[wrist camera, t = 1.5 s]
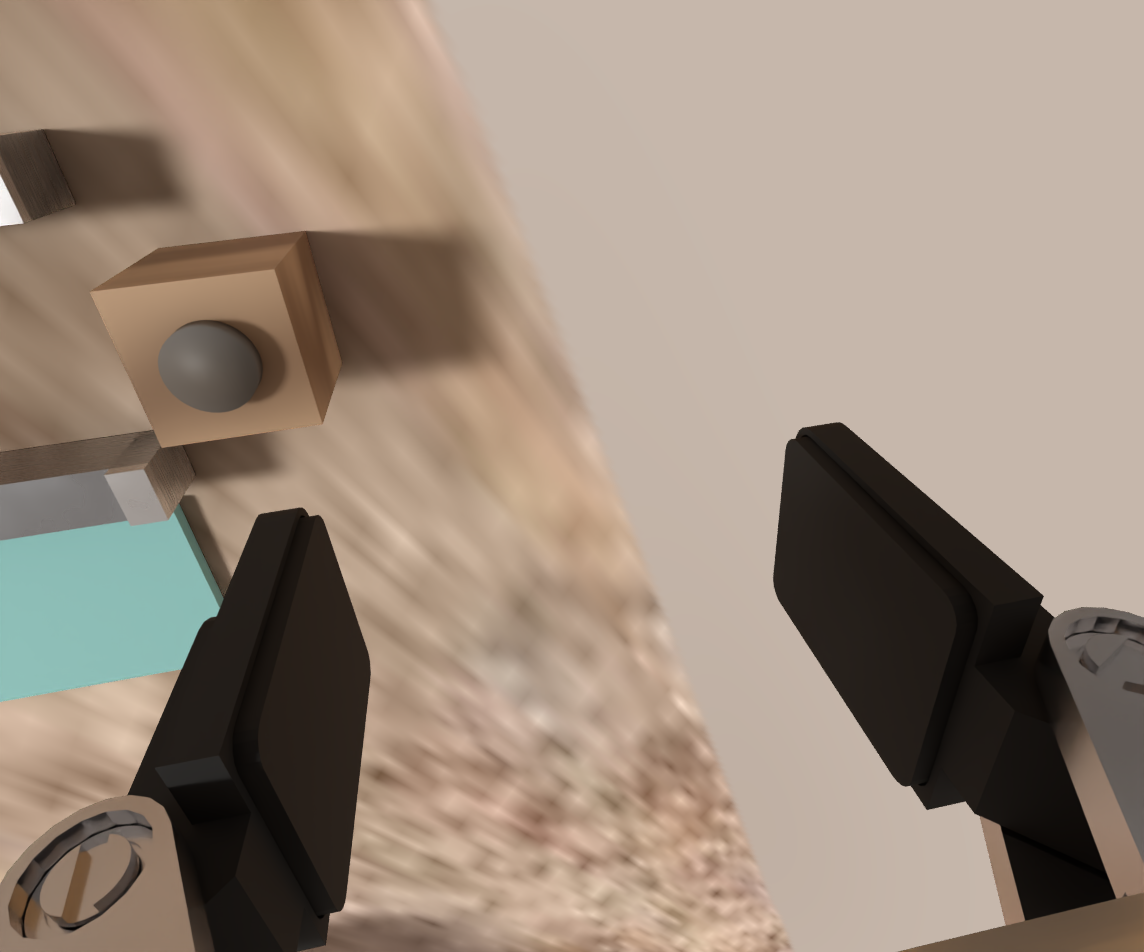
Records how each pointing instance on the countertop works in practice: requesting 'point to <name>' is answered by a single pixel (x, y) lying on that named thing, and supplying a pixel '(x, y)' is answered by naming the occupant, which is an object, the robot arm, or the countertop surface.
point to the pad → (100, 604)
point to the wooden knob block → (224, 337)
